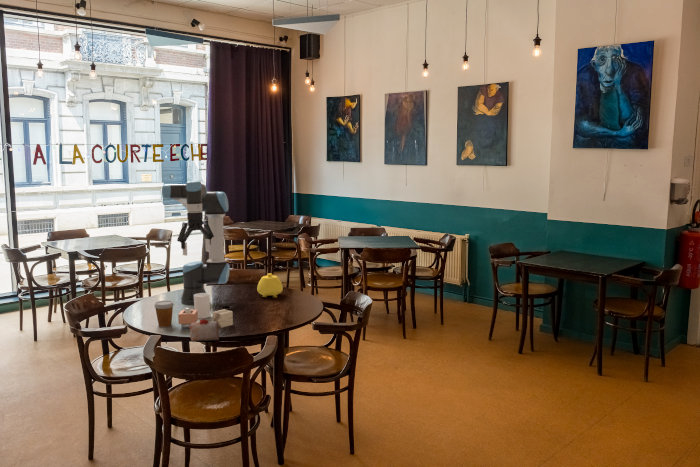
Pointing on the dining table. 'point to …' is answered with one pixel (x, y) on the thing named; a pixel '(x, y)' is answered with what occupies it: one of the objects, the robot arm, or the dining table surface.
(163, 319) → the disposable coffee cup
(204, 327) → the food item
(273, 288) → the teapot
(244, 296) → the dining table surface
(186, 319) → the collar
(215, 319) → the pedestal
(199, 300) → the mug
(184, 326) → the hub
